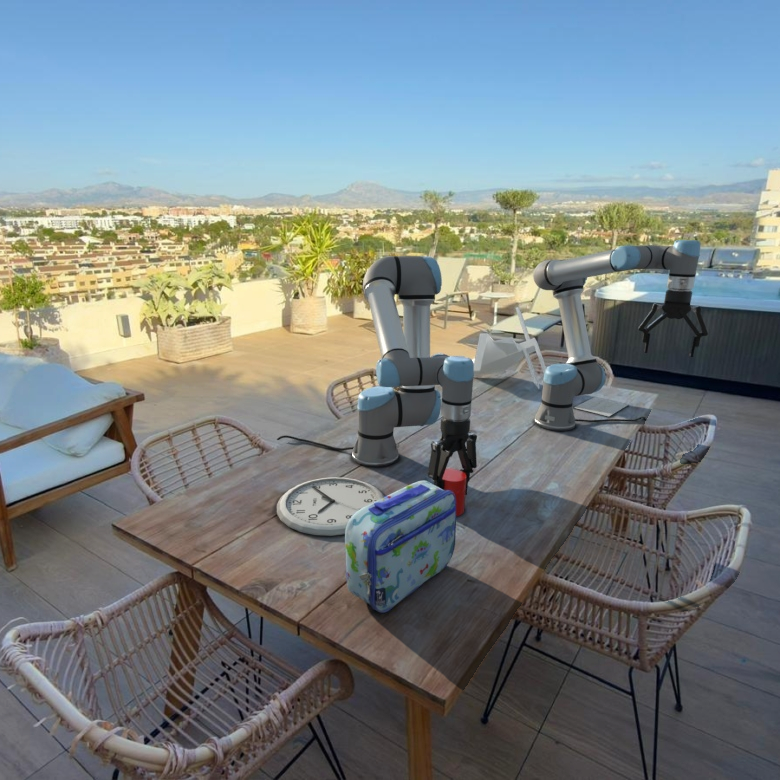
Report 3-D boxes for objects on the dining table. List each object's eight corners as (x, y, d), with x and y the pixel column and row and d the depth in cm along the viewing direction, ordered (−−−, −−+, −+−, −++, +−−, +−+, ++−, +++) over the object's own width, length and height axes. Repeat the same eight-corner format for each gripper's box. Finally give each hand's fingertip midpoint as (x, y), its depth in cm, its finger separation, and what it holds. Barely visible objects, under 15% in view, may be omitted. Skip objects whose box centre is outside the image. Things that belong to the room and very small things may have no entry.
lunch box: (374, 626, 100) (375, 530, 93) (338, 598, 107) (337, 508, 101) (459, 568, 117) (465, 484, 111) (424, 547, 124) (427, 467, 118)
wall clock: (392, 527, 129) (268, 531, 127) (391, 533, 130) (269, 537, 127) (383, 473, 158) (282, 475, 155) (383, 478, 158) (282, 480, 156)
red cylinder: (447, 499, 147) (449, 466, 144) (469, 509, 142) (472, 474, 139) (431, 509, 142) (432, 475, 139) (453, 519, 137) (455, 484, 134)
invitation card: (608, 416, 214) (573, 407, 224) (608, 416, 214) (573, 408, 224) (628, 404, 229) (594, 396, 238) (628, 405, 229) (594, 397, 238)
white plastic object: (486, 418, 267) (465, 395, 242) (467, 346, 289) (447, 318, 264) (556, 394, 255) (543, 367, 230) (531, 321, 277) (516, 289, 252)
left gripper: (432, 429, 126) (429, 513, 132) (495, 414, 136) (488, 493, 143) (414, 419, 132) (412, 500, 138) (475, 406, 142) (470, 482, 149)
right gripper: (637, 288, 169) (627, 352, 175) (726, 293, 160) (712, 360, 167) (636, 286, 176) (627, 348, 182) (721, 290, 167) (708, 355, 173)
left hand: (451, 496), depth 141 cm, fingers closed on red cylinder, 7 cm apart
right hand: (668, 354), depth 174 cm, fingers open, 13 cm apart
